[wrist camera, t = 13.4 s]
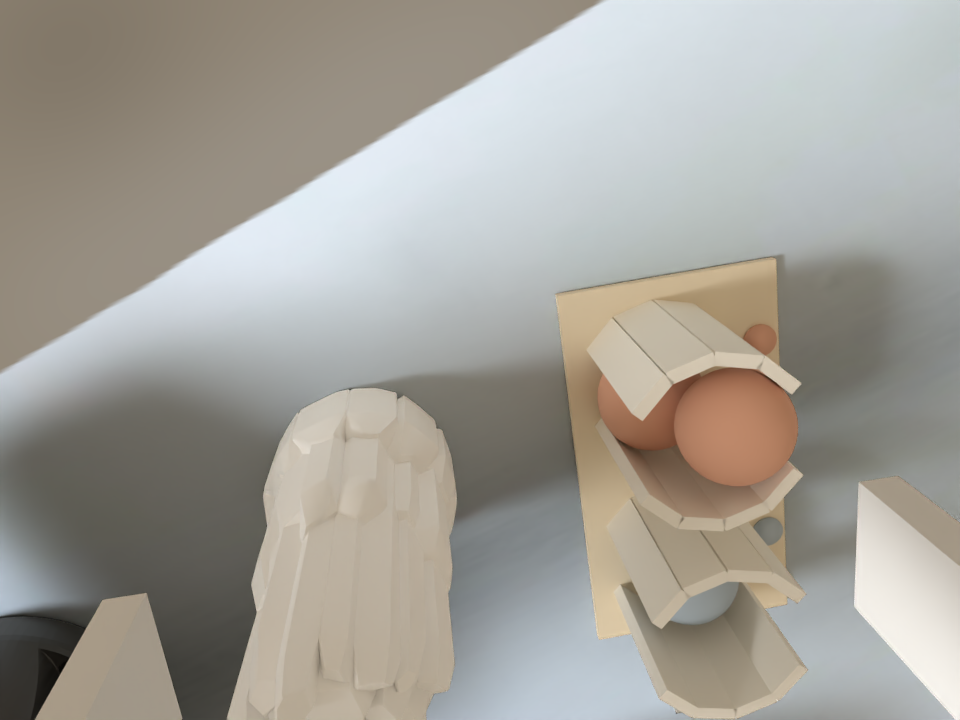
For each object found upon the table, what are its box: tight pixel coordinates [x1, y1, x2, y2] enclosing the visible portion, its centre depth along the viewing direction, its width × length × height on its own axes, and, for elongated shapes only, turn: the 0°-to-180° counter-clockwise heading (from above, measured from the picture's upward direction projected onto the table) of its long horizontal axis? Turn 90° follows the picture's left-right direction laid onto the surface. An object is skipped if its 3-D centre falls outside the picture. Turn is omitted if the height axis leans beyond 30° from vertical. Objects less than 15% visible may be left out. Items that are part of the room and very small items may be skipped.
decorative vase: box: [227, 388, 457, 720], centre depth 39 cm, size 11×11×25 cm
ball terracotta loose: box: [674, 367, 798, 486], centre depth 42 cm, size 6×6×6 cm
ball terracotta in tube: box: [597, 373, 701, 451], centre depth 47 cm, size 6×6×6 cm
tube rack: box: [555, 257, 808, 719], centre depth 47 cm, size 13×24×11 cm, turn 8°
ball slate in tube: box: [670, 582, 739, 625], centre depth 51 cm, size 6×6×6 cm
